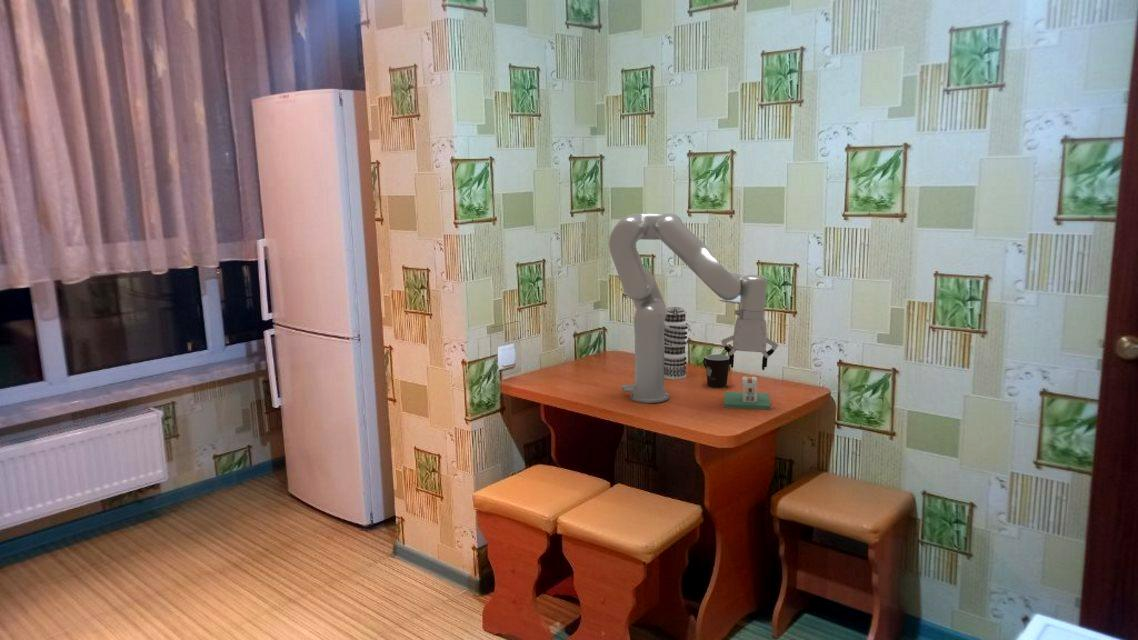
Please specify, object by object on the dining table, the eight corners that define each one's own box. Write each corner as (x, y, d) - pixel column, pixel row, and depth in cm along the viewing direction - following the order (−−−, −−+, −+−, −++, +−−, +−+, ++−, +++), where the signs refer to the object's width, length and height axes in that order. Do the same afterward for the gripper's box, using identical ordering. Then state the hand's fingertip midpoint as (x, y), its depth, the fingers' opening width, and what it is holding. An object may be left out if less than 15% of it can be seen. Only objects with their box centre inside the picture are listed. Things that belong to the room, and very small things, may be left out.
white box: (742, 401, 247) (742, 382, 246) (742, 394, 255) (742, 376, 254) (757, 402, 246) (757, 382, 245) (756, 394, 254) (756, 376, 253)
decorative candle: (692, 375, 284) (693, 307, 279) (677, 380, 277) (678, 311, 273) (671, 371, 290) (672, 304, 285) (656, 376, 283) (656, 308, 279)
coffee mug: (732, 388, 266) (732, 360, 264) (706, 389, 266) (707, 360, 264) (725, 379, 278) (725, 352, 276) (700, 380, 278) (701, 352, 276)
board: (724, 407, 245) (724, 394, 245) (724, 395, 259) (724, 382, 258) (770, 409, 243) (770, 396, 242) (768, 396, 256) (768, 384, 255)
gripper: (723, 315, 243) (719, 368, 247) (780, 319, 240) (776, 373, 243) (723, 311, 251) (719, 363, 254) (779, 314, 247) (775, 367, 251)
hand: (747, 367), depth 249 cm, fingers open, 9 cm apart
